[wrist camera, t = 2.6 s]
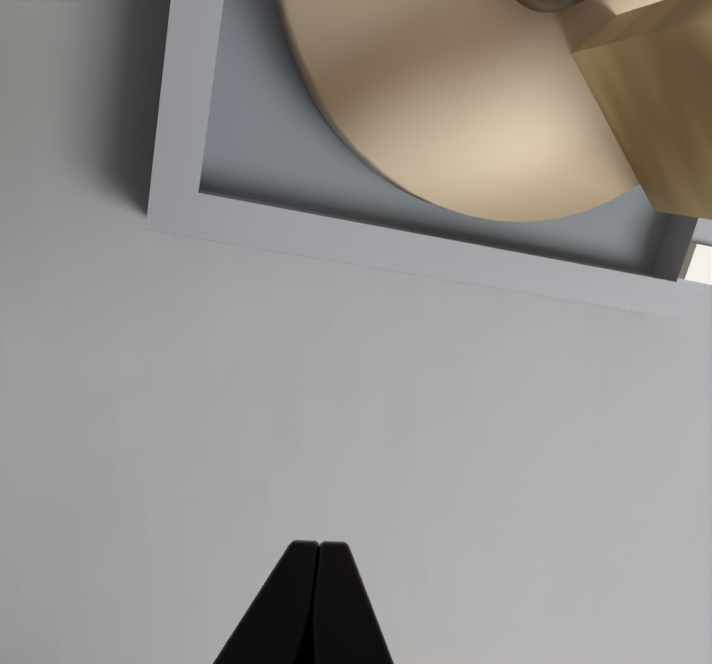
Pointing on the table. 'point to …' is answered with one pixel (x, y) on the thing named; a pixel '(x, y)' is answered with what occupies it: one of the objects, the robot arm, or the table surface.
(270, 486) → the table surface
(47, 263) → the table surface
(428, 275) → the bezel plate
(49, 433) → the table surface
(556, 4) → the beige disc with bar
